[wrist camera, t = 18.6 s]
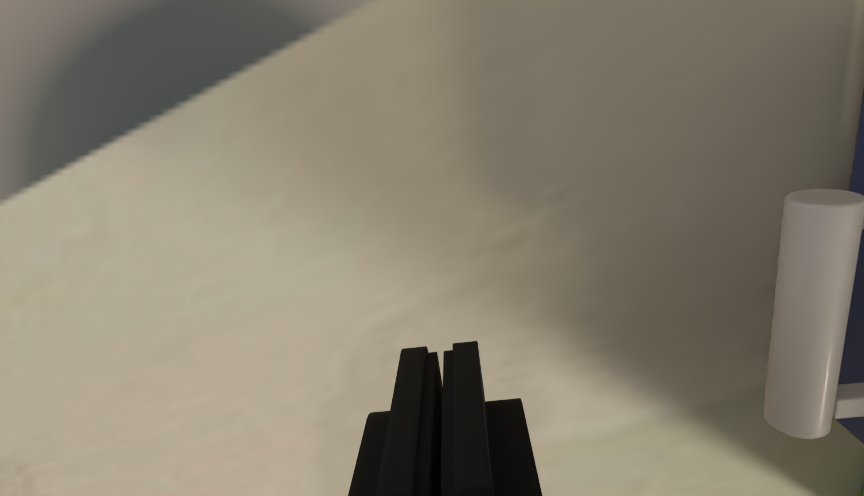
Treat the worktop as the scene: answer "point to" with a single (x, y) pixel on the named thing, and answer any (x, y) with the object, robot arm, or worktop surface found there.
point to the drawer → (819, 311)
